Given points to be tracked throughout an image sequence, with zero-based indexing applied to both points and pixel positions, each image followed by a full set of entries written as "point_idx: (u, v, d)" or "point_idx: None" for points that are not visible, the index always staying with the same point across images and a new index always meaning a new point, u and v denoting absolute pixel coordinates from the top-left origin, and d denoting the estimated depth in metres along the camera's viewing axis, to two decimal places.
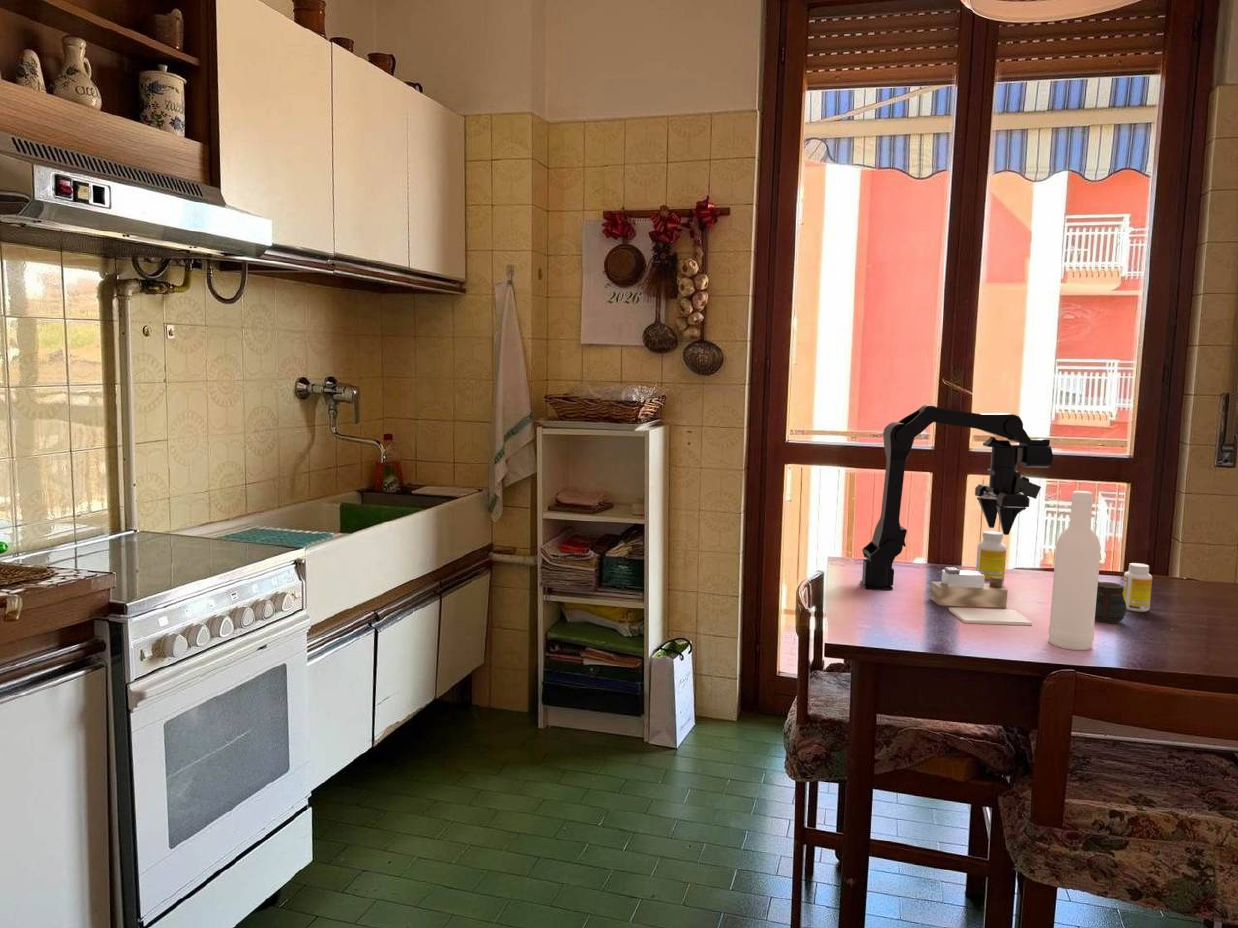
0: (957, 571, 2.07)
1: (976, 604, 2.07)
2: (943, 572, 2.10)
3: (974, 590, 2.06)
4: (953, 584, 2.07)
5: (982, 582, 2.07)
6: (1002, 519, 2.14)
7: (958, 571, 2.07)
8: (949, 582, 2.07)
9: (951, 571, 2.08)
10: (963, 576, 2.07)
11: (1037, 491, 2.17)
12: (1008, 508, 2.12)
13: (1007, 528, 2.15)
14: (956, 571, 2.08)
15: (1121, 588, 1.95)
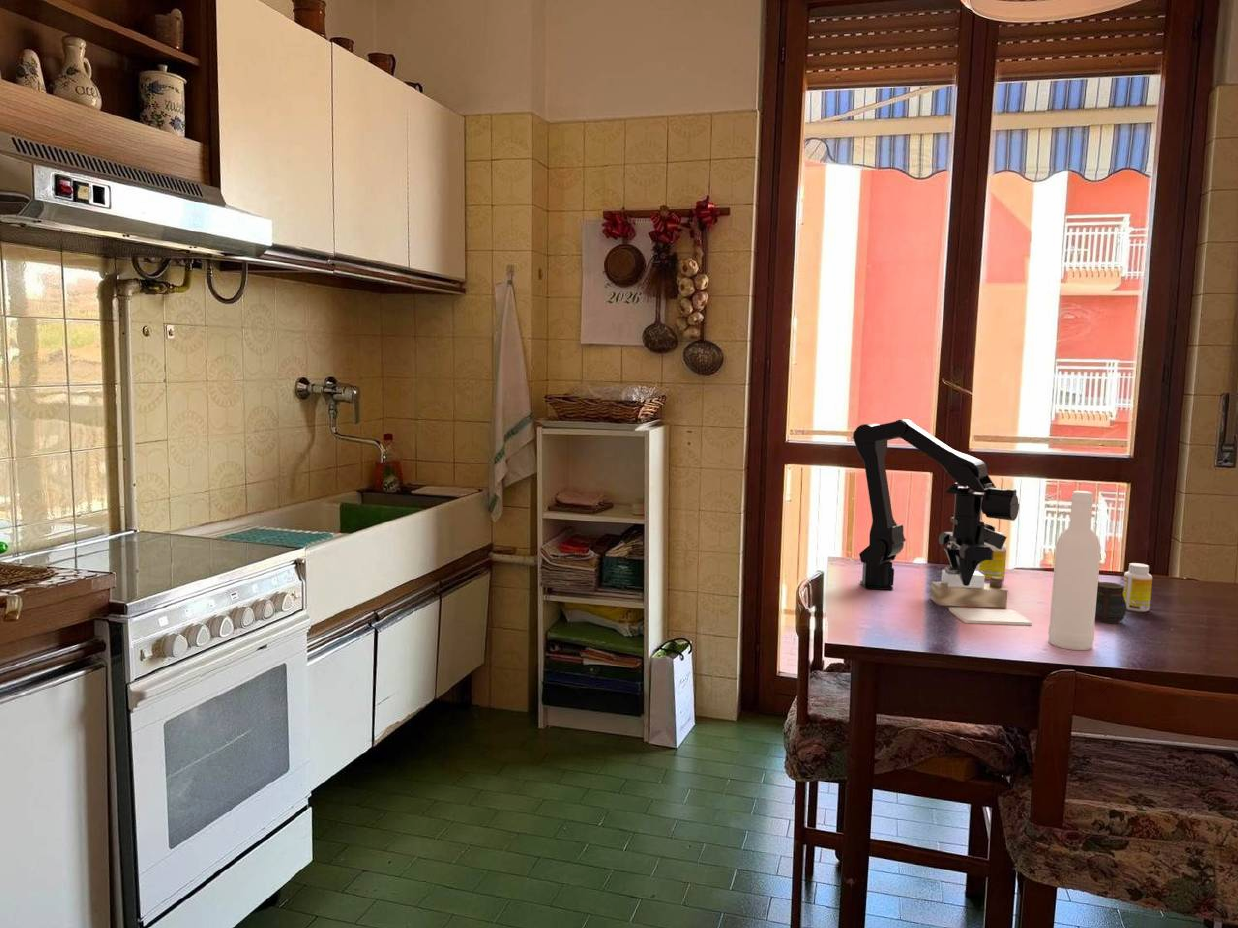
0: (957, 571, 2.07)
1: (976, 604, 2.07)
2: (943, 572, 2.10)
3: (974, 590, 2.06)
4: (953, 584, 2.07)
5: (982, 582, 2.07)
6: (962, 570, 2.05)
7: (958, 571, 2.07)
8: (949, 582, 2.07)
9: (951, 571, 2.08)
10: None
11: (1002, 541, 2.06)
12: (967, 559, 2.03)
13: (967, 579, 2.06)
14: (956, 571, 2.08)
15: (1121, 588, 1.95)
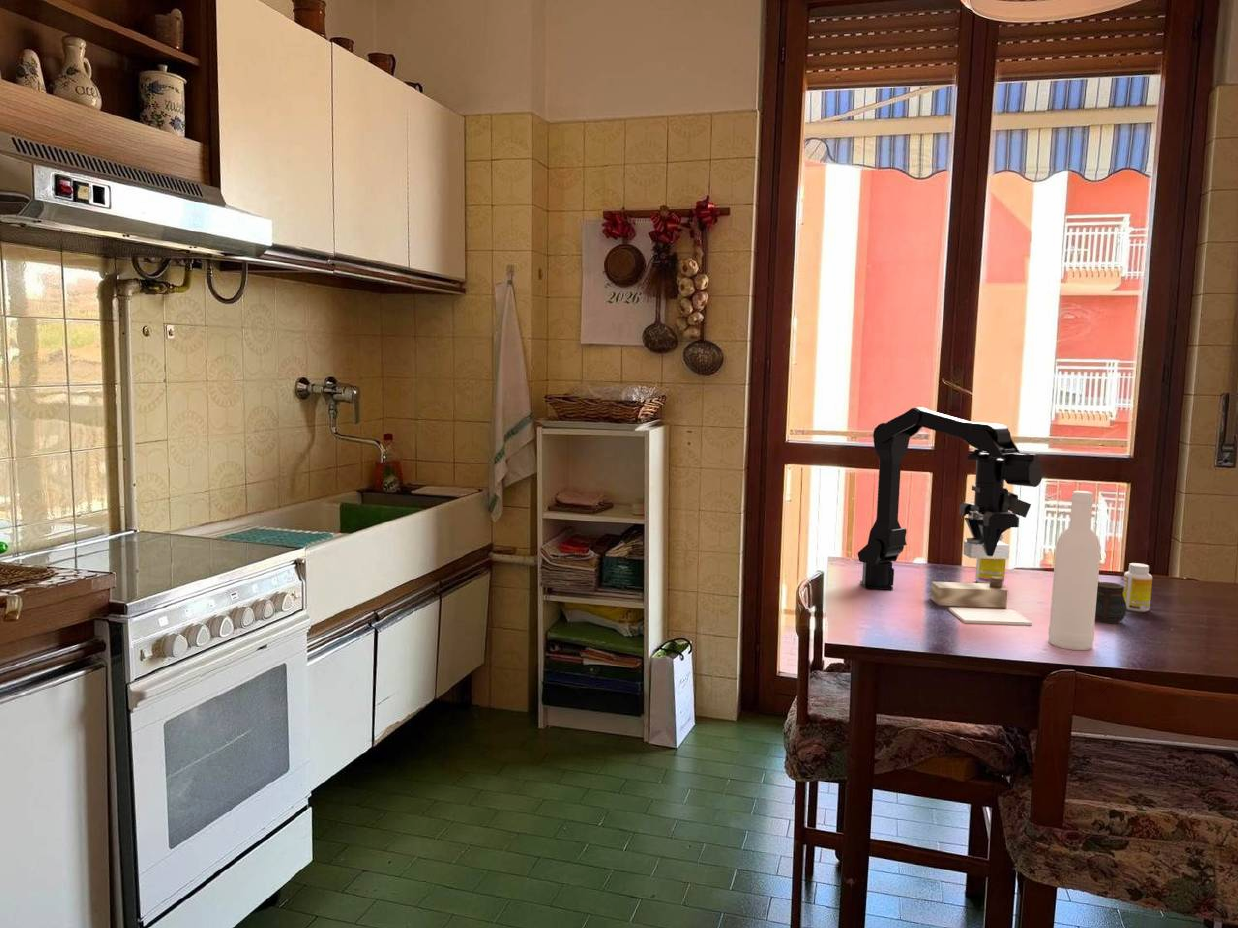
0: (980, 541, 1.99)
1: (976, 604, 2.07)
2: (965, 543, 2.01)
3: (974, 590, 2.06)
4: (977, 554, 1.98)
5: (1007, 552, 1.98)
6: (985, 539, 1.96)
7: (981, 541, 1.99)
8: (972, 553, 1.98)
9: (974, 541, 1.99)
10: None
11: (1027, 509, 1.97)
12: (992, 527, 1.94)
13: (991, 549, 1.97)
14: (979, 541, 1.99)
15: (1121, 588, 1.95)
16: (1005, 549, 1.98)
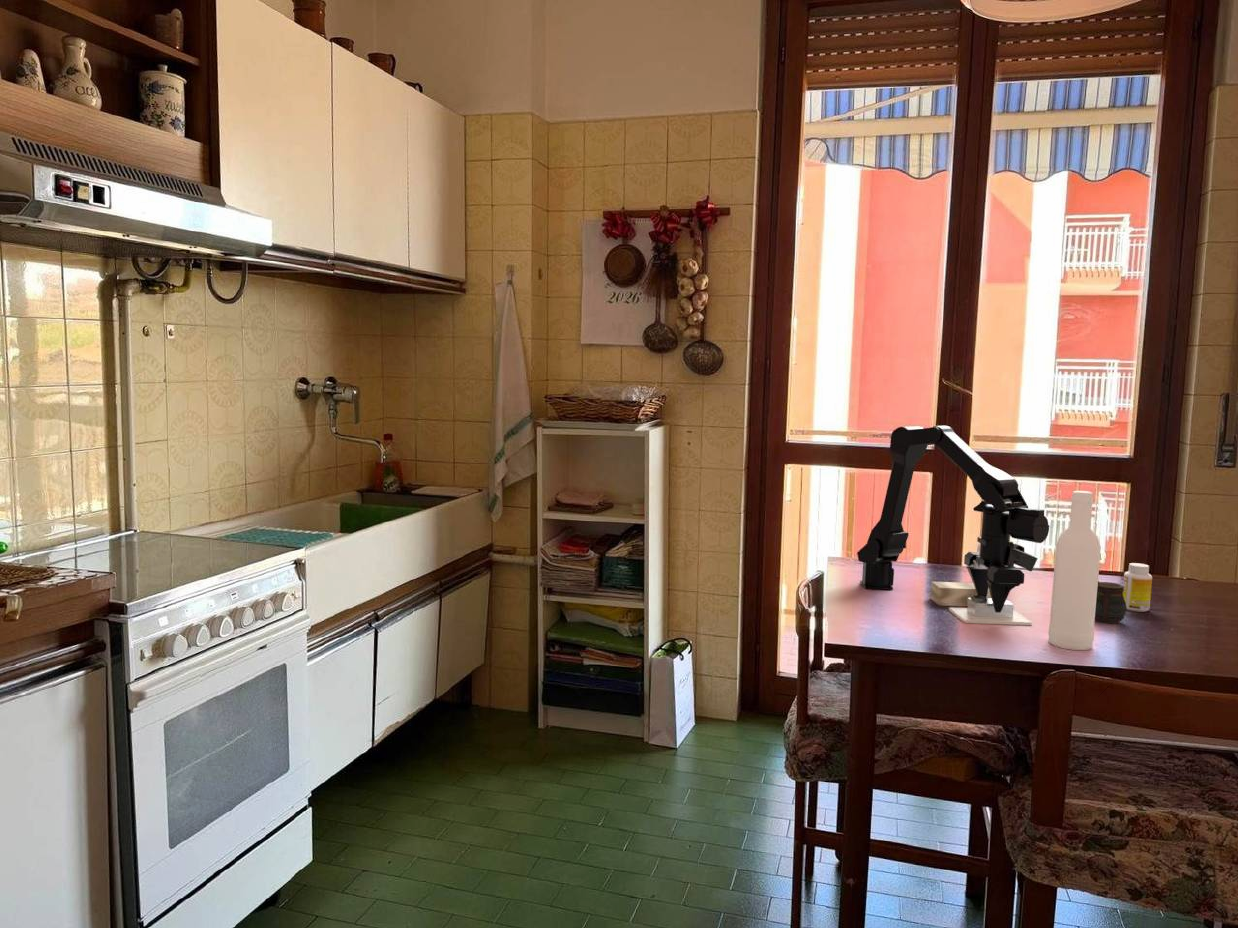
0: (984, 600, 1.96)
1: None
2: (969, 600, 1.99)
3: (974, 590, 2.06)
4: (980, 613, 1.95)
5: (1011, 611, 1.95)
6: (993, 595, 1.91)
7: (985, 600, 1.96)
8: (976, 611, 1.95)
9: (978, 600, 1.96)
10: (991, 605, 1.95)
11: (1033, 563, 1.94)
12: (1000, 584, 1.89)
13: (999, 605, 1.92)
14: (983, 600, 1.96)
15: (1121, 588, 1.95)
16: (1009, 608, 1.95)
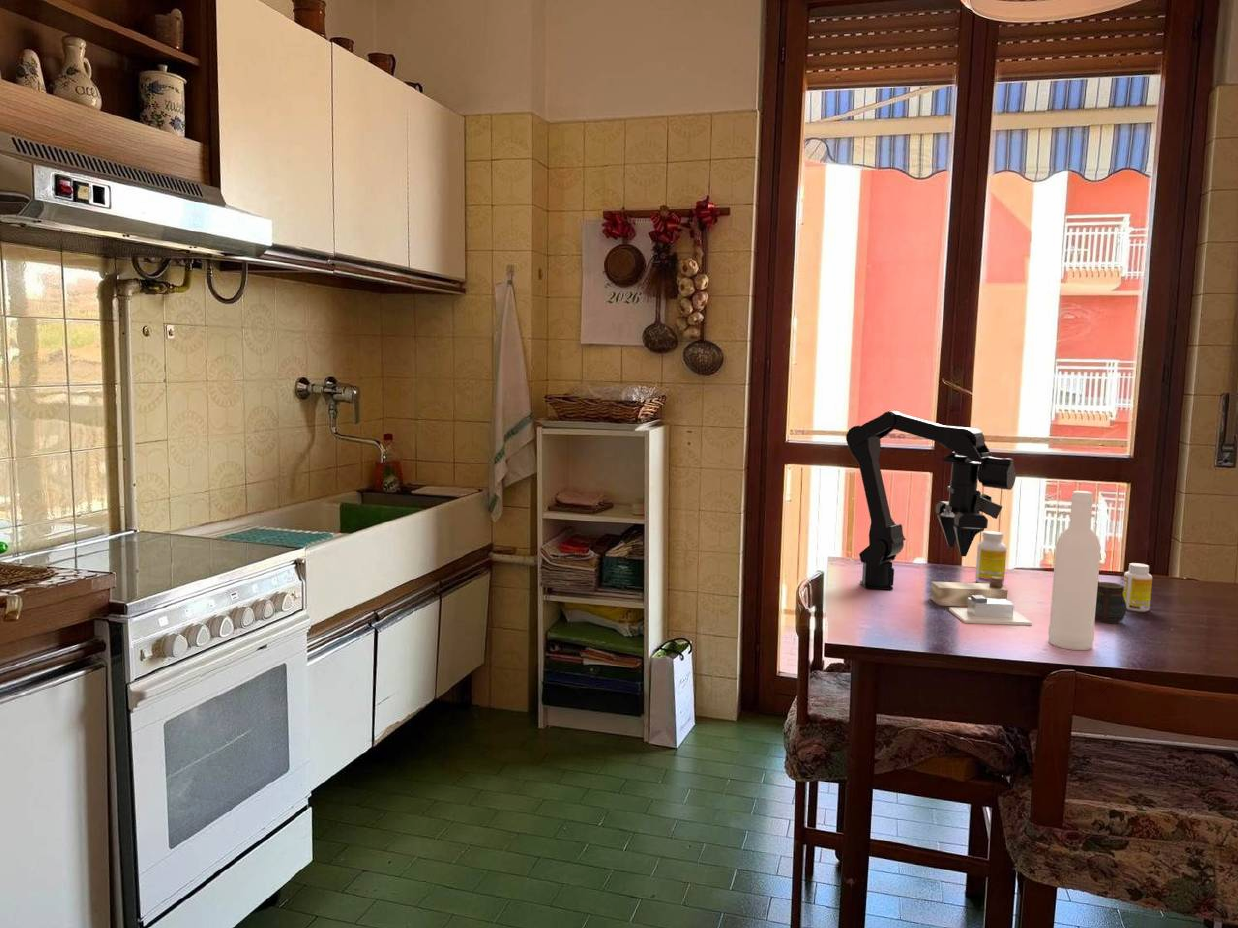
0: (984, 600, 1.96)
1: None
2: (969, 600, 1.99)
3: (974, 590, 2.06)
4: (980, 613, 1.95)
5: (1011, 611, 1.95)
6: (959, 540, 2.03)
7: (985, 600, 1.96)
8: (976, 611, 1.95)
9: (978, 600, 1.96)
10: (991, 605, 1.95)
11: (998, 511, 2.06)
12: (965, 529, 2.01)
13: (964, 549, 2.04)
14: (983, 600, 1.96)
15: (1121, 588, 1.95)
16: (1009, 608, 1.95)
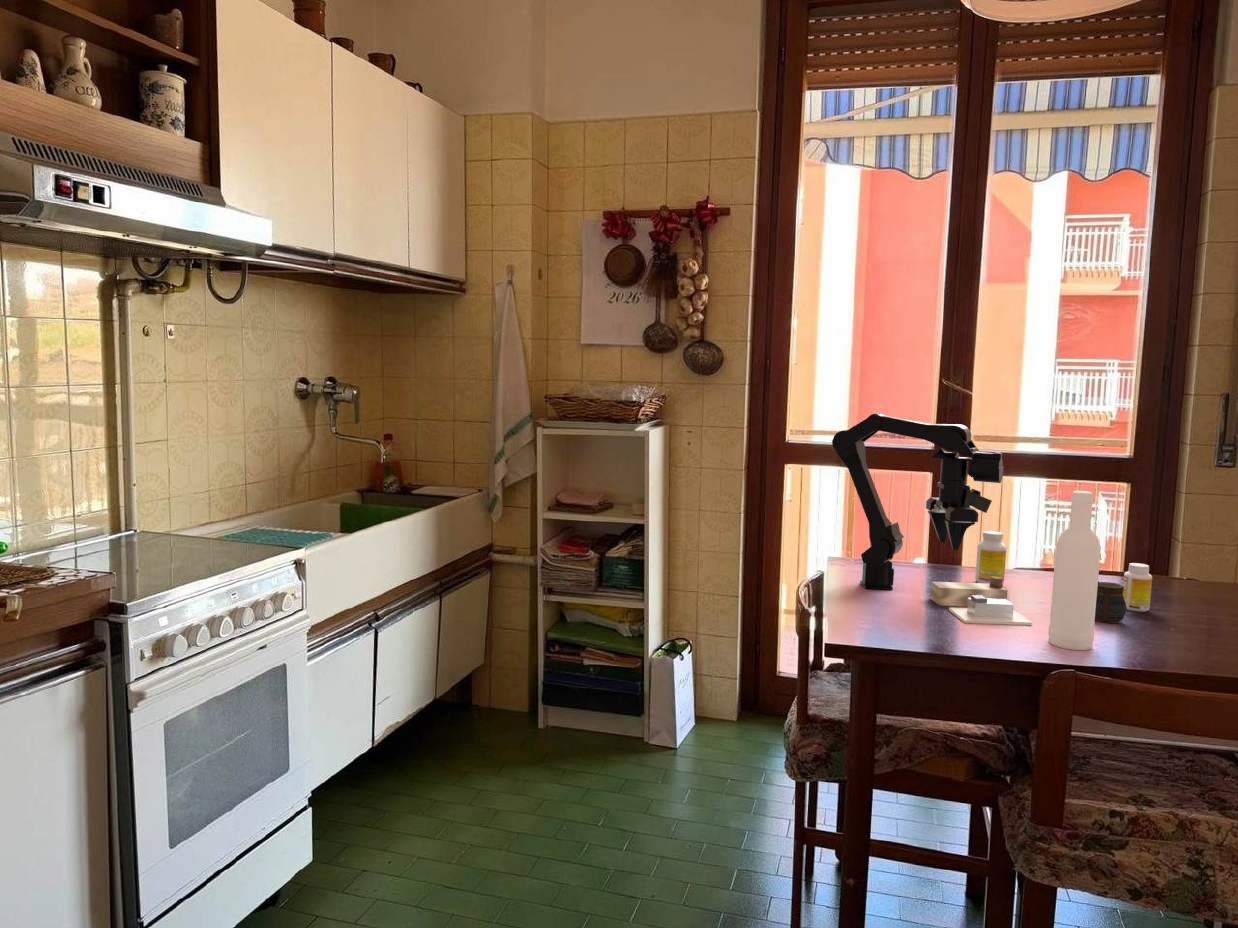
0: (984, 600, 1.96)
1: None
2: (969, 600, 1.99)
3: (974, 590, 2.06)
4: (980, 613, 1.95)
5: (1011, 611, 1.95)
6: (951, 534, 2.07)
7: (985, 600, 1.96)
8: (976, 611, 1.95)
9: (978, 600, 1.96)
10: (991, 605, 1.95)
11: (988, 505, 2.10)
12: (956, 523, 2.05)
13: (956, 543, 2.08)
14: (983, 600, 1.96)
15: (1121, 588, 1.95)
16: (1009, 608, 1.95)
